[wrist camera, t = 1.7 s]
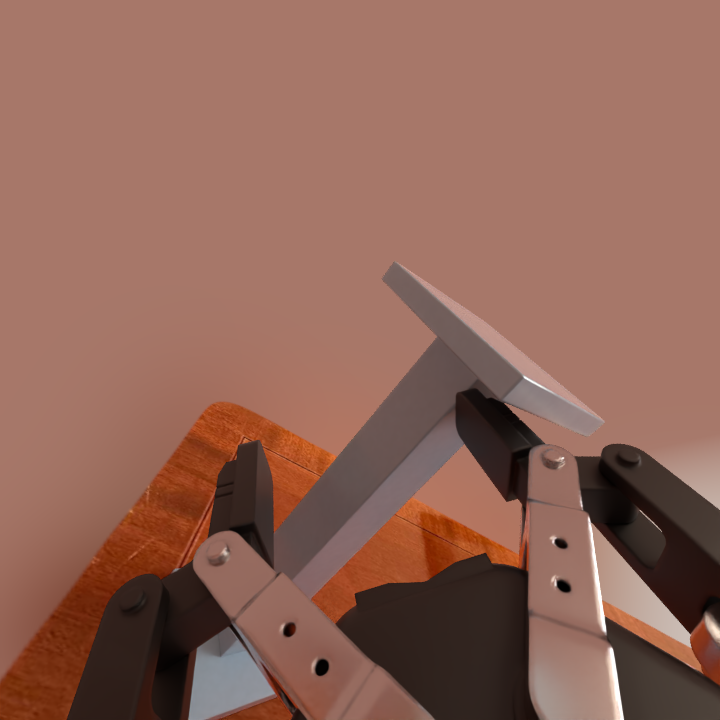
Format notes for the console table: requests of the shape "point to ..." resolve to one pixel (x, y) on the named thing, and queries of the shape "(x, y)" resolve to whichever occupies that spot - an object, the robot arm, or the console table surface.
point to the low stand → (387, 468)
